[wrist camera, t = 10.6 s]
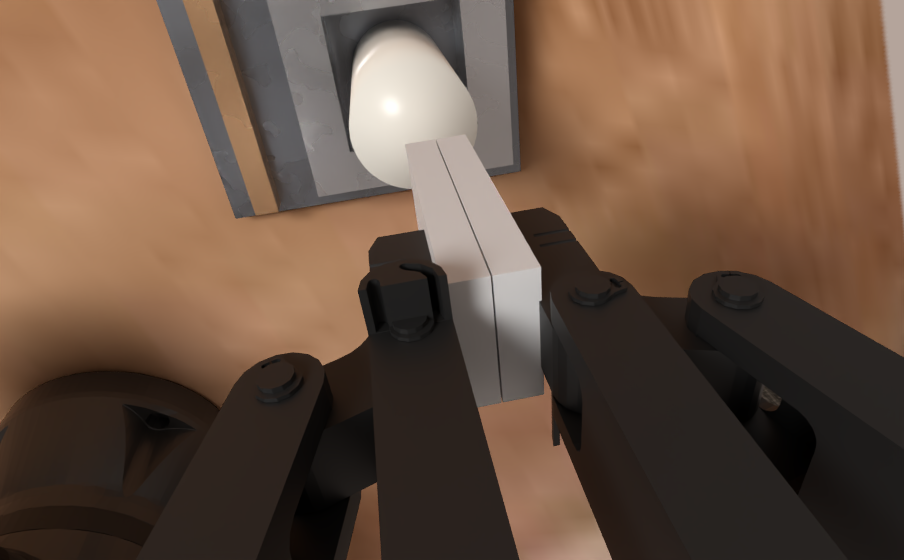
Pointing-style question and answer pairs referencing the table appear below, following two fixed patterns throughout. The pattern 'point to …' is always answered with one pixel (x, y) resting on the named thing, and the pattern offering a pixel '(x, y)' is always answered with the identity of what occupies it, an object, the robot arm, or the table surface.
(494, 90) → the jig
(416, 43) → the white rounded cylinder
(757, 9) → the table surface
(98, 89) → the table surface
